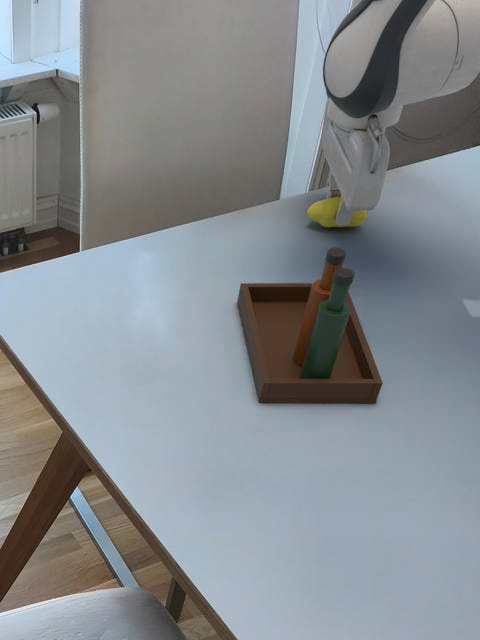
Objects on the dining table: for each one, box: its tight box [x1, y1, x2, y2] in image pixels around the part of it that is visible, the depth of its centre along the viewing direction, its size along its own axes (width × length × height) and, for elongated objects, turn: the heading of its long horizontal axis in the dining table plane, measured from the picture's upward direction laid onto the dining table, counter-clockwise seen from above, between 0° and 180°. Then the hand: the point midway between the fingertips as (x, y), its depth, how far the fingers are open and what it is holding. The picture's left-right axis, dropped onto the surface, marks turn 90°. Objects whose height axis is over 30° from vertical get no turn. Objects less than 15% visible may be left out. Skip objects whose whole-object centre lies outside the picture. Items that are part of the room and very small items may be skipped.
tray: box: [236, 282, 384, 404], centre depth 102 cm, size 13×21×3 cm, turn 177°
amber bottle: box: [293, 246, 347, 366], centre depth 96 cm, size 3×3×13 cm
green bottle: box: [299, 267, 356, 379], centre depth 93 cm, size 3×3×13 cm
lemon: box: [306, 197, 368, 228], centre depth 120 cm, size 4×8×4 cm, turn 79°
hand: (337, 213), depth 120 cm, fingers closed on lemon, 4 cm apart
